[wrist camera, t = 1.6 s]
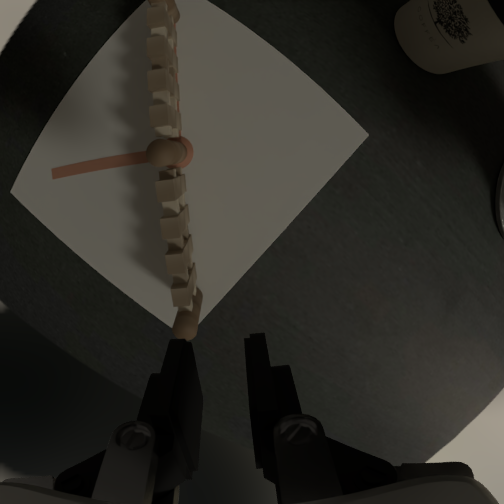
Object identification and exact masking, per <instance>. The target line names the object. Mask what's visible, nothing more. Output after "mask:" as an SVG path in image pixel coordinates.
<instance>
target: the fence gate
mask: <svg viewBox="0 0 504 504" xmlns="http://www.w3.org/2000/svg"><path fill="white" fill-rule="evenodd" d="M159 179H160V180H158V181H155V185H156V194H157V202H158V203H159V202H162V206H163V214H164V215H163V216H162V217H161V218H160V226H161V233H162V240H164V239H167V244H168V251H167V252H166V254H165V260H166V266H167V272H168V275H169V274H172V276H173V284H172V286H171V289H170V290H171V296H172V301H173V307H178V311H177V314H176V317H175V321H174V324H173V327H172V331H173V334H174V335H175V336H176V337H177V338H178V339H186V341H187V340H191V339H193V338H194V337H195V336H196V333H197V328H198V322H199V316H200V311H201V305H202V300H203V294H202V292H201V290H200V289H198V288H197V287H196V280H197V274H196V266H195V262H194V263H193V262H192V252H193V243H192V235H191V234H189V231H188V223H189V222H190V217H189V208H188V204H185V195H184V193H185V192H186V191H187V189H186V179H185V174H182V167H178V168H169V169H167V170H162V171H159Z"/></svg>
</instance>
